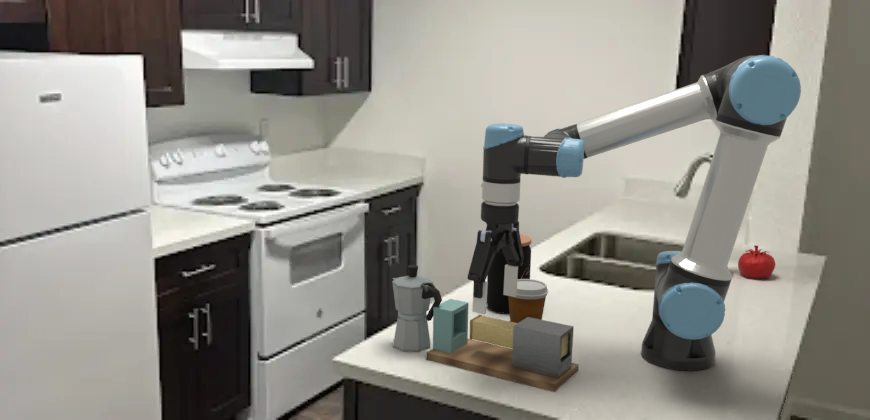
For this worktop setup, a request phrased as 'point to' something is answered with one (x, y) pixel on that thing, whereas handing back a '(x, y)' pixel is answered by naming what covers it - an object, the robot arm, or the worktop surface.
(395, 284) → the coffee maker
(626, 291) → the worktop surface
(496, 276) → the coffee jar
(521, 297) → the disposable coffee cup
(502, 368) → the board
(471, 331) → the wooden crossbeam
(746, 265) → the pomegranate
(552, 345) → the sleeve
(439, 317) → the socket
